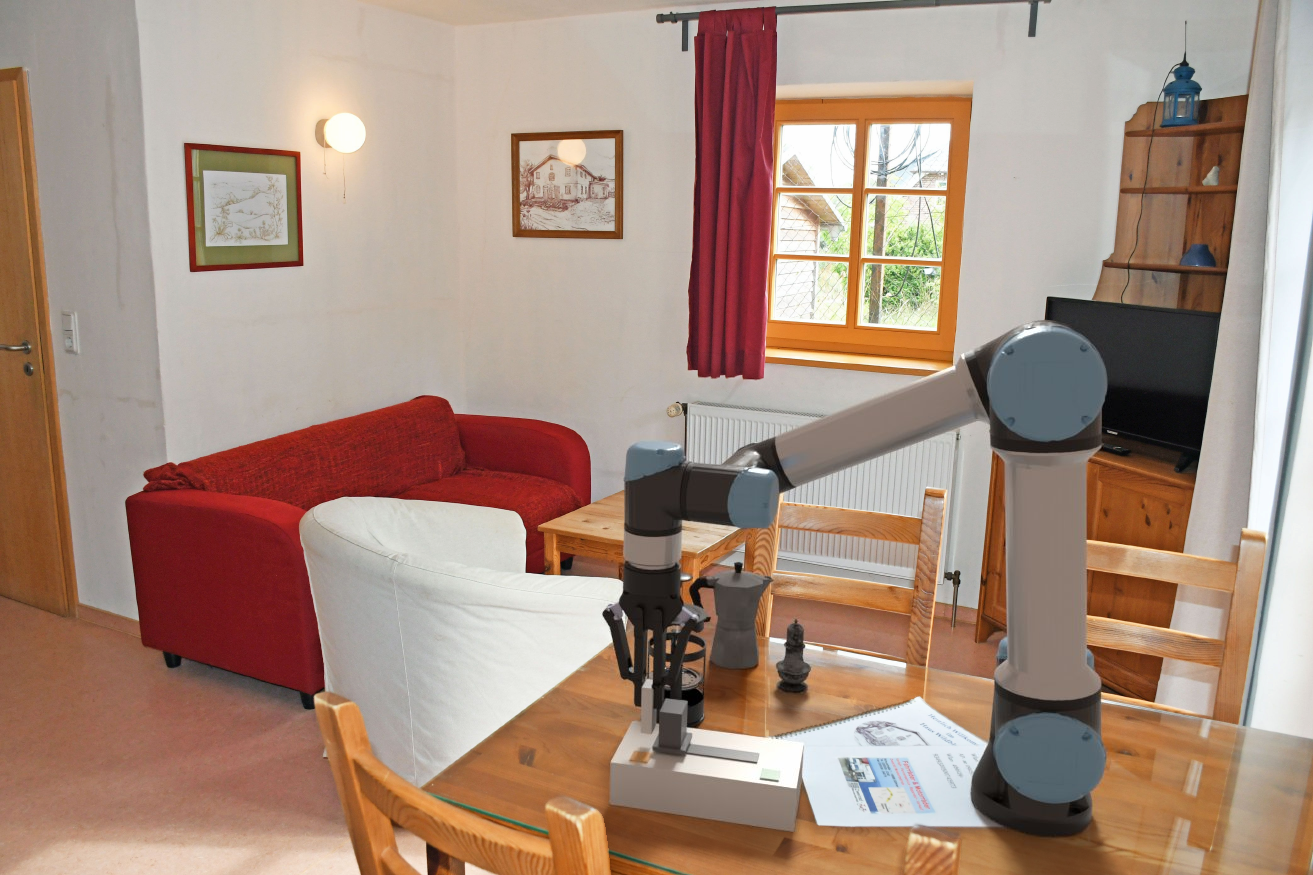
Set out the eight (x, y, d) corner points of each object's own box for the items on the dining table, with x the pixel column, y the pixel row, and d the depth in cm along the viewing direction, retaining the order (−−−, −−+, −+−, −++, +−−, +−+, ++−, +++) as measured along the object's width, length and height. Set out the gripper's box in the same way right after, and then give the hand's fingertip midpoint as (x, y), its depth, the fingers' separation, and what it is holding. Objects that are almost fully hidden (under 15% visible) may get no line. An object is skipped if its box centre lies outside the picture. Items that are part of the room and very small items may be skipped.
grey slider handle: (692, 736, 136) (693, 699, 135) (685, 754, 131) (686, 716, 130) (660, 732, 137) (661, 696, 135) (652, 750, 132) (653, 712, 131)
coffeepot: (760, 645, 184) (764, 552, 180) (778, 666, 175) (784, 568, 171) (679, 652, 180) (682, 556, 176) (694, 674, 171) (698, 573, 168)
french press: (705, 732, 151) (711, 587, 146) (643, 730, 151) (647, 585, 146) (703, 697, 162) (708, 562, 158) (645, 695, 162) (649, 560, 158)
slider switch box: (801, 782, 137) (804, 741, 136) (793, 831, 126) (796, 786, 124) (632, 759, 142) (632, 718, 141) (609, 804, 131) (610, 760, 129)
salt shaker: (771, 691, 165) (775, 622, 163) (778, 676, 171) (781, 610, 168) (807, 696, 164) (811, 627, 161) (812, 681, 169) (816, 614, 167)
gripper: (706, 556, 132) (701, 722, 136) (611, 547, 135) (609, 710, 139) (696, 574, 125) (690, 748, 129) (595, 564, 127) (593, 735, 132)
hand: (648, 728), depth 134 cm, fingers closed
